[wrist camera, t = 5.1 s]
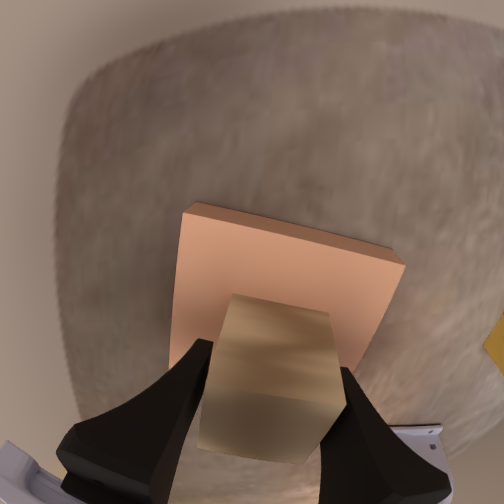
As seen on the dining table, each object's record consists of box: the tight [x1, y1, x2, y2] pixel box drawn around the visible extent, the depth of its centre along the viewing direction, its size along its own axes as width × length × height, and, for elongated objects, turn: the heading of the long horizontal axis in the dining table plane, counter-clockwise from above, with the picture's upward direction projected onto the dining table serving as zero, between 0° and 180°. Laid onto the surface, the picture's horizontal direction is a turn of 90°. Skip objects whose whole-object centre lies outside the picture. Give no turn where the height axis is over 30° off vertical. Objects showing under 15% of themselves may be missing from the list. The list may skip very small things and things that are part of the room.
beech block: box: [197, 293, 346, 464], centre depth 12 cm, size 4×4×6 cm
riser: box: [169, 202, 406, 385], centre depth 15 cm, size 10×10×2 cm
